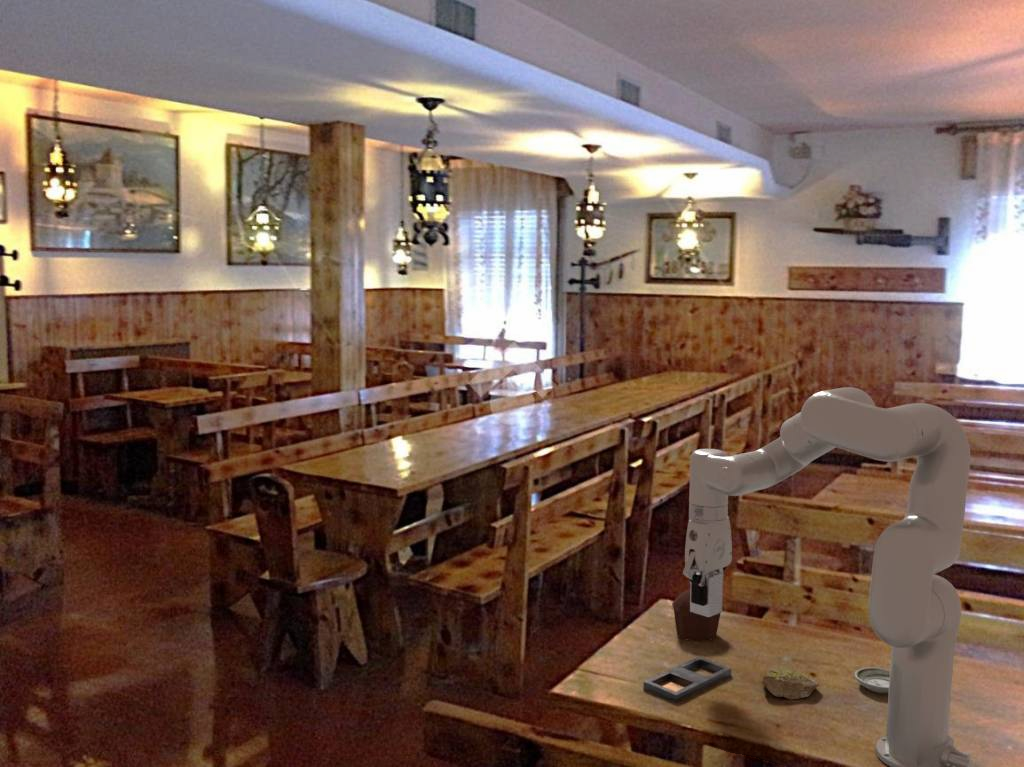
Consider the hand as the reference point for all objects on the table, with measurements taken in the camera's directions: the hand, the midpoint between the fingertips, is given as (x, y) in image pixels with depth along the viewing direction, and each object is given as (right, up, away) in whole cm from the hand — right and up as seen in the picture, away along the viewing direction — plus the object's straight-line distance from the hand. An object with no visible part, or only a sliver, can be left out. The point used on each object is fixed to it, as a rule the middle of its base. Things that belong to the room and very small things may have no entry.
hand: (706, 600), depth 192 cm
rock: (+16, -17, -4) cm, 23 cm away
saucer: (+33, -17, -3) cm, 38 cm away
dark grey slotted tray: (-4, -16, -1) cm, 17 cm away
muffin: (+3, -13, +24) cm, 27 cm away
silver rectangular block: (0, -2, 0) cm, 2 cm away
